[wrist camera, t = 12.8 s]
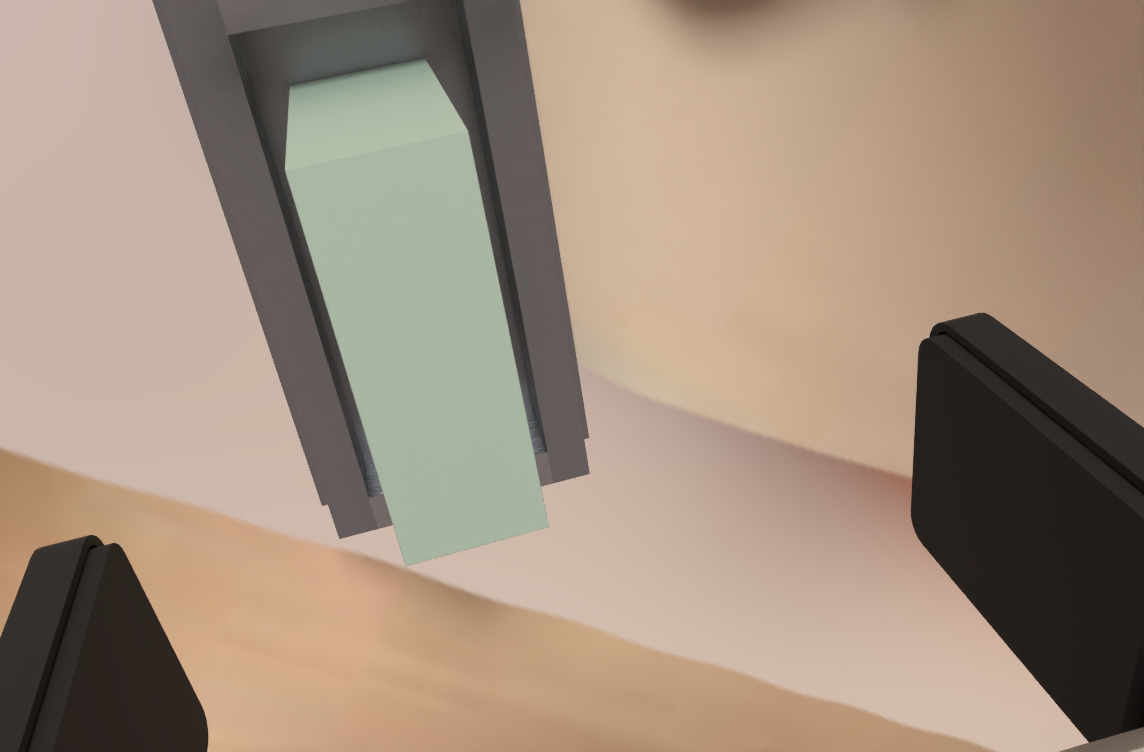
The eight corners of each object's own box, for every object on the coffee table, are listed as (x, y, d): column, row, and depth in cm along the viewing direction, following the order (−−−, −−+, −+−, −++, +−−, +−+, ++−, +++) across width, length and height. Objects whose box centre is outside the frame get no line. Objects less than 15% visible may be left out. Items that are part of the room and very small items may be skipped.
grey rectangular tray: (152, -20, 25) (134, -6, 22) (500, -82, 26) (521, -75, 23) (321, 488, 33) (323, 542, 30) (581, 422, 34) (604, 469, 31)
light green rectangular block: (289, 85, 26) (285, 169, 19) (424, 57, 26) (468, 130, 19) (382, 406, 31) (406, 566, 24) (494, 378, 31) (548, 526, 24)
